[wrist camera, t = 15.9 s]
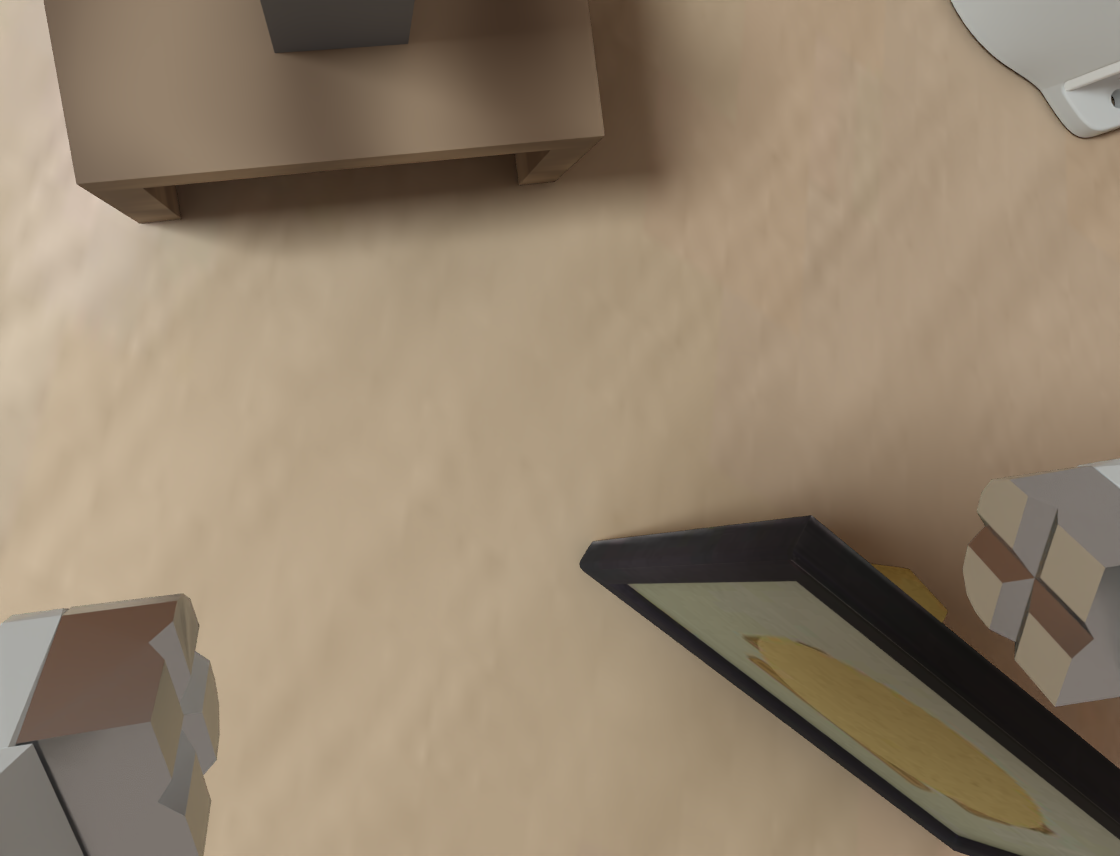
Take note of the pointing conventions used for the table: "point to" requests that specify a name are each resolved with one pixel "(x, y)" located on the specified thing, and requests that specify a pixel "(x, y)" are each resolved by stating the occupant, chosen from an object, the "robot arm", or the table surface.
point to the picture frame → (872, 681)
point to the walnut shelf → (314, 94)
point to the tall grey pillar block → (336, 23)
